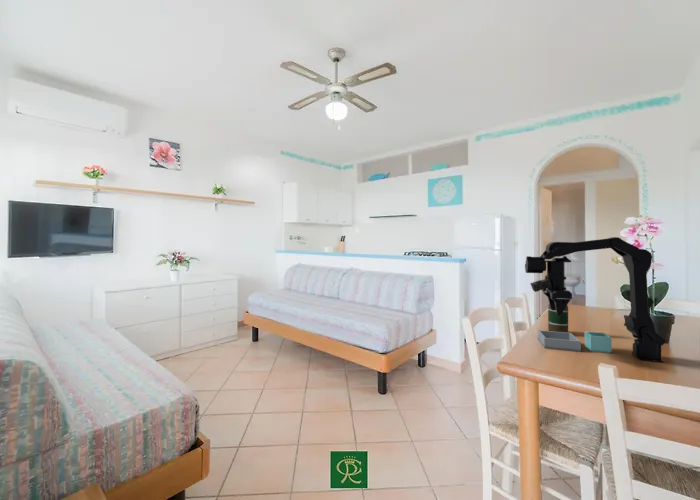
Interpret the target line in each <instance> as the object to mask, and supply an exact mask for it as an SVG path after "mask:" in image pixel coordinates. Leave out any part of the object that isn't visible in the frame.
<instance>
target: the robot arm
mask: <svg viewBox="0 0 700 500" xmlns="http://www.w3.org/2000/svg"><path fill="white" fill-rule="evenodd" d="M604 249H612V251H614V252H615V253H616V254H617V255H619V256H620V257H622V259H623V263H624V266H625V268H626V270H627V272H628V275H629V276H628V277H629V292H630V293H629V296H630V312H629V313H628V315H626V314H625V315H623V317H624V318H623V319H624V324H623V326H624V327H626V330H627V332H630V333H631V335H632V336H633V338H634V342H633V343H632V352H631V354H632V355H633V356H635V357H636V358H638V359H639V360H640V361H650V362H658V363H659V362H660V363H665V360H664V359H662V346H664V344H665V342H666V339H665V338H664V337H662V336H661V335H660V334H659V333H657V329H656V327H655V324H654V320H653V319H652V317H651V315H650V313H649V296H648V272H649V270H650V268H651V267H652V266H651V265H652V260H653V255H652V253H651V252H650V251H649V250H647V249H644V248H640V247H637V246H636V245H634V244H631V243H629V242H627V241H625V240H624V239H622V238H621V237H618V236H616V237H615V236H613V237H611V236H610V237H608V238H601V239H592V240H583V241H575V242H573V241H571V242H570V241H569V242H568V241H566V242H565V241H551V242H549V243H547V244H546V246H545V250H544V252H542V254H541V255H540V256H526V257H525V264H524V270H525V271H524V272H525V274H544V272H546V275H545V276H544V279H540V280H536V281H534V282H530V283H529V284H530V287H531V289H532V291H534V292H535V293H536V292H539V291H541V292H542V293H543V295H545V296H546V297H547V299H548V305H549V304H550V307H551V310H553V311H554V310H555V308H556V312H557V315H558V316H561V314H562V313H563V311H564V309H565V307H566V306H567V305H568V304H569V303H570V301H571V300H572V299H573V293H572V292H571V291H570V290H569V289H567V287H566V286H565V285H566V284H565V282H566V280H567V277H566V276H565V271H566V269H565V263H572V260H570V259H569V258H568V257H567V256H568V255H570V254H573V253H578V252H585V251H596V250H604ZM566 255H567V256H566Z"/></svg>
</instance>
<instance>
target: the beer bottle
mask: <svg viewBox="0 0 700 500" xmlns="http://www.w3.org/2000/svg"><path fill="white" fill-rule="evenodd" d="M547 312H548V313H547V314H548V316H547V318H548V319H547V331H554V332H566V333H569V306H568V304H567V306H566V307H565V309H564V311H563V313H562V314H561V316H558V315H557V312H556V308H555V310H554V311H553V310H551V307H550V304H549V303H548V307H547Z"/></svg>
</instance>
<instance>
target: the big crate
mask: <svg viewBox="0 0 700 500" xmlns="http://www.w3.org/2000/svg"><path fill="white" fill-rule="evenodd" d="M537 341H538V342H539V343H540V344H541V346H542V347H543V348H544V349H548V350H557V351H558V350H560V351H569V352H570V351H571V352H582V349H581V348H582V347H581V345H582V343H581V342H582V340H581V341H580V339H578V338H577V337H576V336H575V335H574V334H573V333H571V332H568V333H566V332H554V331H548V330H541V329H540V330H539V329H538V330H537Z"/></svg>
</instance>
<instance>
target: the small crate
mask: <svg viewBox="0 0 700 500" xmlns="http://www.w3.org/2000/svg"><path fill="white" fill-rule="evenodd" d="M584 347H585V348H586V349H587V350H589V351H590V352H591V353H592V352H594V353H602V354H603V353H604V354H605V353H606V354H612V337H611V336H609V335H608V334H607V333H605V332H597V331H584Z"/></svg>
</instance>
